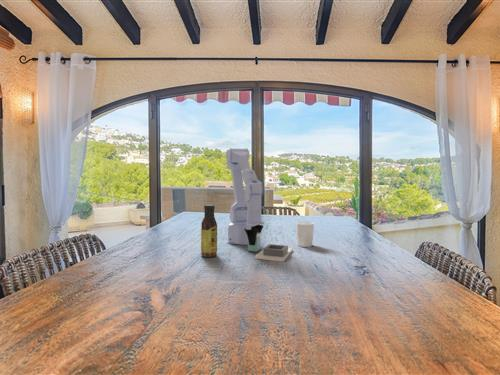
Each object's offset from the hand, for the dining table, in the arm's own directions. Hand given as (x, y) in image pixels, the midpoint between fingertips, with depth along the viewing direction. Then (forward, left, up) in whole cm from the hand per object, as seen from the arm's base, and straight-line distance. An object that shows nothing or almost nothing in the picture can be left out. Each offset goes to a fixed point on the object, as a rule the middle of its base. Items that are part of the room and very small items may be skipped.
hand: (253, 243), depth 127 cm
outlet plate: (+10, -2, -3) cm, 10 cm away
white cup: (+18, +17, -3) cm, 25 cm away
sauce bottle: (-14, -13, -3) cm, 19 cm away
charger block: (0, 0, -3) cm, 3 cm away
